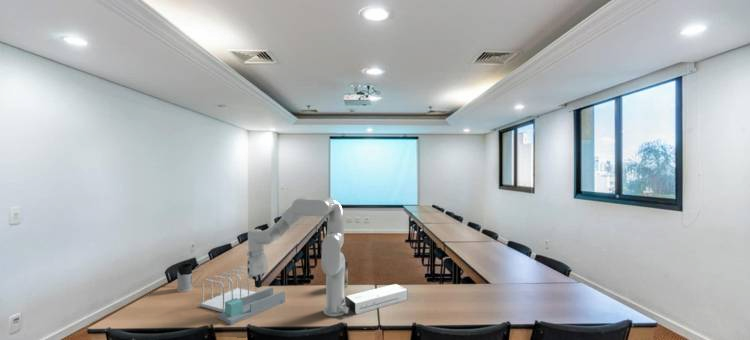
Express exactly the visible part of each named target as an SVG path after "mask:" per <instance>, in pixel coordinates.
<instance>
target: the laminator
mask: <svg viewBox="0 0 750 340" xmlns="http://www.w3.org/2000/svg"><path fill="white" fill-rule="evenodd" d="M408 291H409V290H408V289H407V288H406V287H403V286H401V285H399V284H398V283H394V284H393V283H392V284H390V285H385V286H382V287H381V286H380V287H377V288H374V289H369V290H364V291H361V292H357V293H354V294H349V295H344V301H345V303H346V307H348V308H349V311H351V312H353V313H354V314H355V315H358V314H362V313H365V312H369V311H372V310H377V309H380V308H383V307H386V306H390V305H394V304H397V303H400V302H404V301H407V300H408Z"/></svg>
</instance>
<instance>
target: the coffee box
mask: <svg viewBox="0 0 750 340" xmlns="http://www.w3.org/2000/svg"><path fill="white" fill-rule="evenodd" d="M348 265H349V264H348V261H347V260H345V272H344V289H346V288H348V287H349V277H348V276H349V273H348V272H349V271H348V270H349V269H348V268H349V267H348Z"/></svg>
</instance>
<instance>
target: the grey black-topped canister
mask: <svg viewBox="0 0 750 340" xmlns="http://www.w3.org/2000/svg"><path fill="white" fill-rule="evenodd" d="M192 267H193V265H192V264H191V263H184V264H180V265H178V266H177V274H176V275H177V290H176V292H177V293H187V292H186V291H188V292H190V290H191V291H192V290H194V287H193V286H194V285H195V283H196V282H197V281H198V280H199V279H200V278H201V277H202V274H203V272H204V271H203V270H204V268H203V266H202V265H200V267H201V274H200V276H198V278H197V279H195V281H194V282H193V274H196V269H197V268H198V267H199V265H197V266H196V267H195V268H194V271H193V269H192Z"/></svg>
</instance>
